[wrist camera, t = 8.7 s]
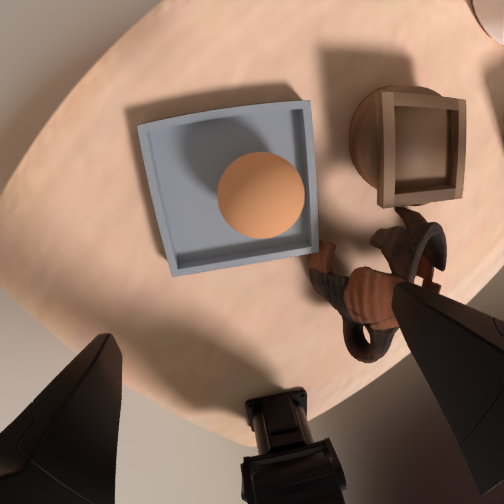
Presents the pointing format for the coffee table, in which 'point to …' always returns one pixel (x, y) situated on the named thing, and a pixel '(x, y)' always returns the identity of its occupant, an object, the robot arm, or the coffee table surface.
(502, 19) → the can
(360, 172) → the open wooden box
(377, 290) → the pottery mug
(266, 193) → the ball
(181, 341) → the coffee table surface
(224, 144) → the tray
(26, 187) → the coffee table surface
